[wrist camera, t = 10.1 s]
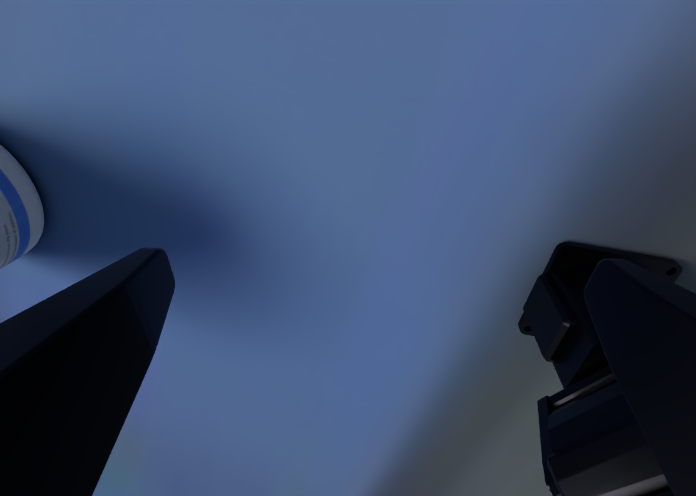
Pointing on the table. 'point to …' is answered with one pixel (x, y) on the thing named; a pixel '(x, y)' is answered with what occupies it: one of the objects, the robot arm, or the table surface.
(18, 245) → the supplement tub
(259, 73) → the table surface
